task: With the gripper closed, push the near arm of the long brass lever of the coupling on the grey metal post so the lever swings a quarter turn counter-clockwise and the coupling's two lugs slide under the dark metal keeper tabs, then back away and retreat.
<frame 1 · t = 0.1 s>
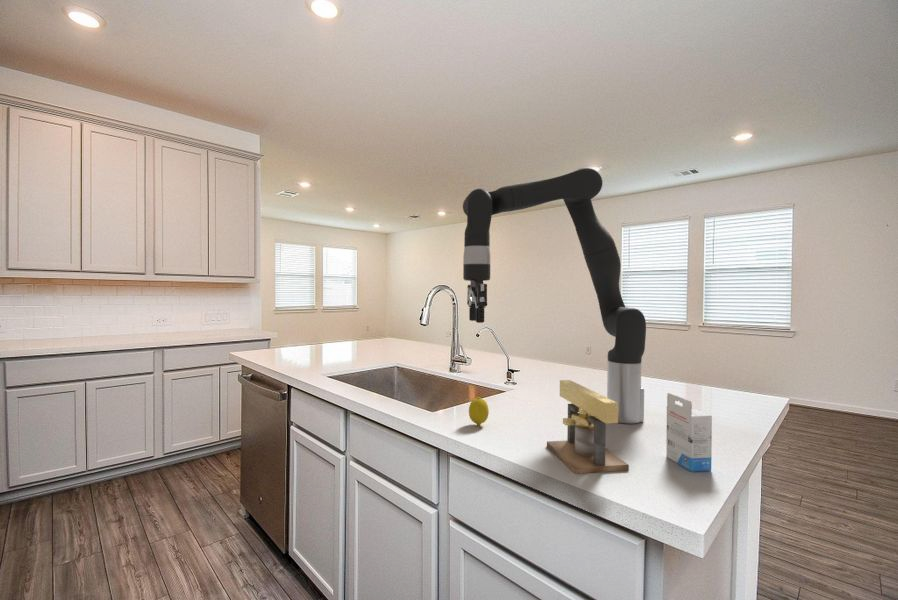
hand: (476, 321, 113), 29 cm above the worktop, fingers open, 8 cm apart
ink box: (687, 464, 89), on the worktop
lemon: (478, 426, 113), on the worktop
base: (584, 457, 91), on the worktop
coupling: (585, 407, 91), point 11 cm above the worktop, hinge at 0.0°
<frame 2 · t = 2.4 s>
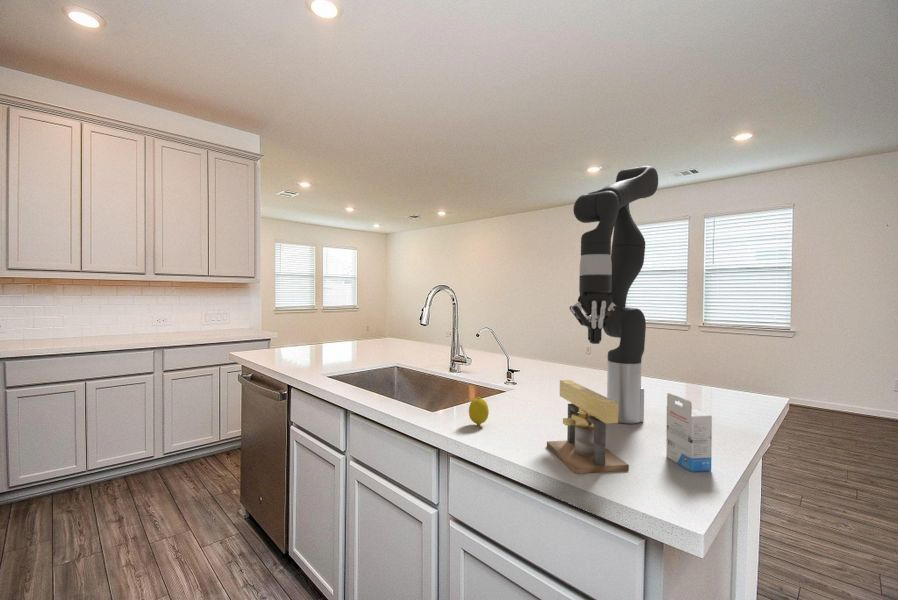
hand: (594, 343, 100), 25 cm above the worktop, fingers closed
nothing on the worktop moved.
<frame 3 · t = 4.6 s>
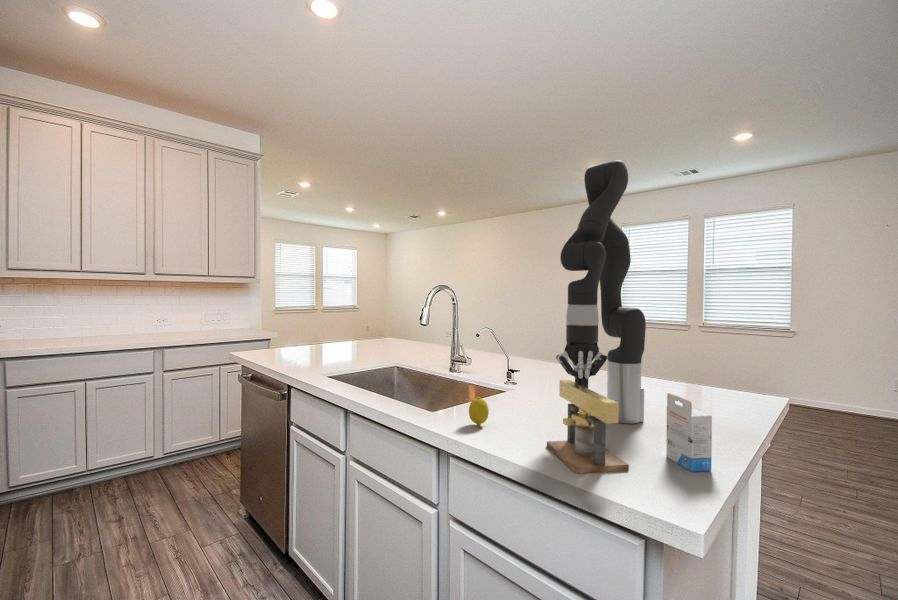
hand: (581, 392, 100), 13 cm above the worktop, fingers closed
coupling: (585, 407, 91), point 11 cm above the worktop, hinge at 0.3°, touching gripper
everything else where it was.
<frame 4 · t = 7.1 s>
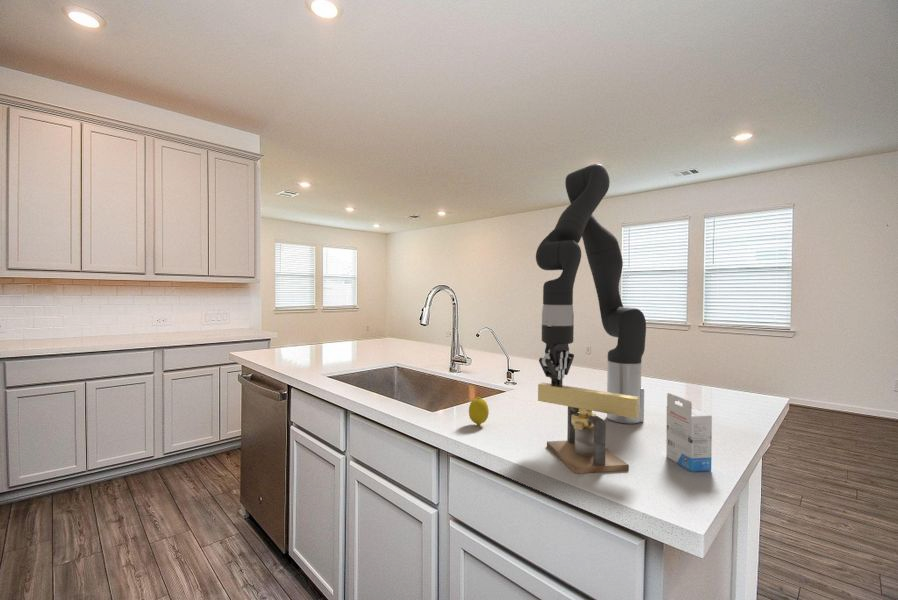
hand: (556, 393, 99), 13 cm above the worktop, fingers closed
coupling: (585, 407, 91), point 11 cm above the worktop, hinge at 43.5°, touching gripper
everything else where it was.
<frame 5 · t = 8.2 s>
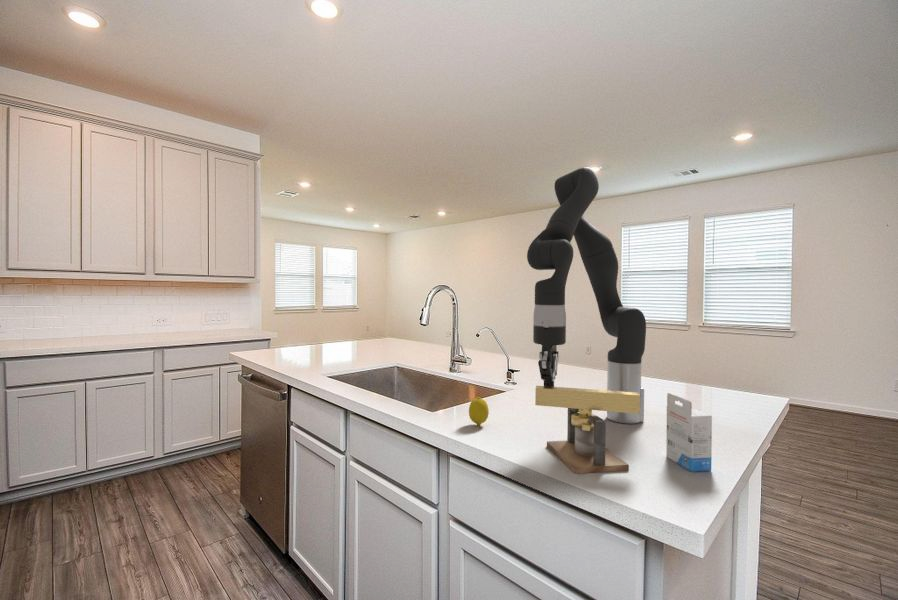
hand: (548, 396, 97), 13 cm above the worktop, fingers closed
coupling: (585, 407, 91), point 11 cm above the worktop, hinge at 65.1°, touching gripper
everything else where it was.
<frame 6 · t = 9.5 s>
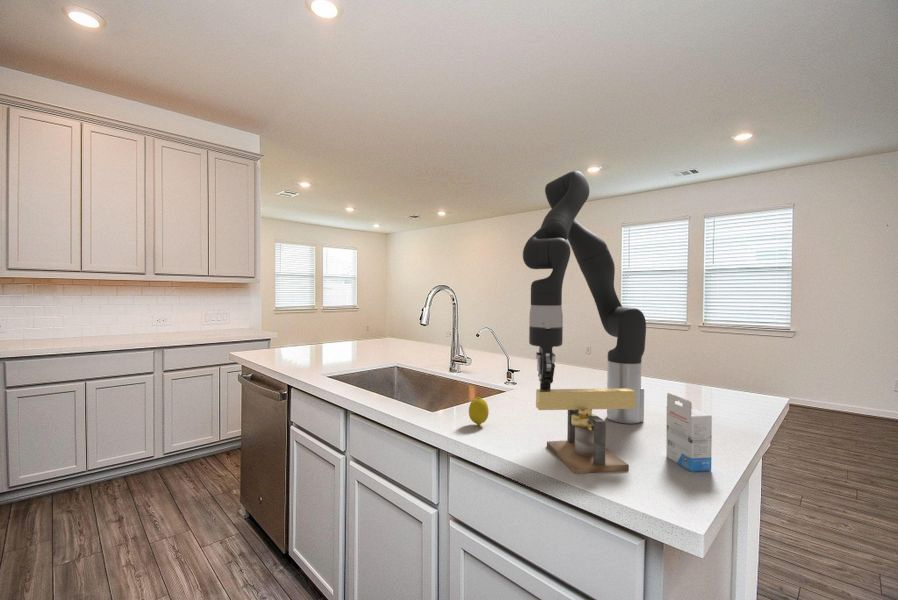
hand: (545, 399, 94), 13 cm above the worktop, fingers closed
coupling: (585, 407, 91), point 11 cm above the worktop, hinge at 85.6°, touching gripper
everything else where it was.
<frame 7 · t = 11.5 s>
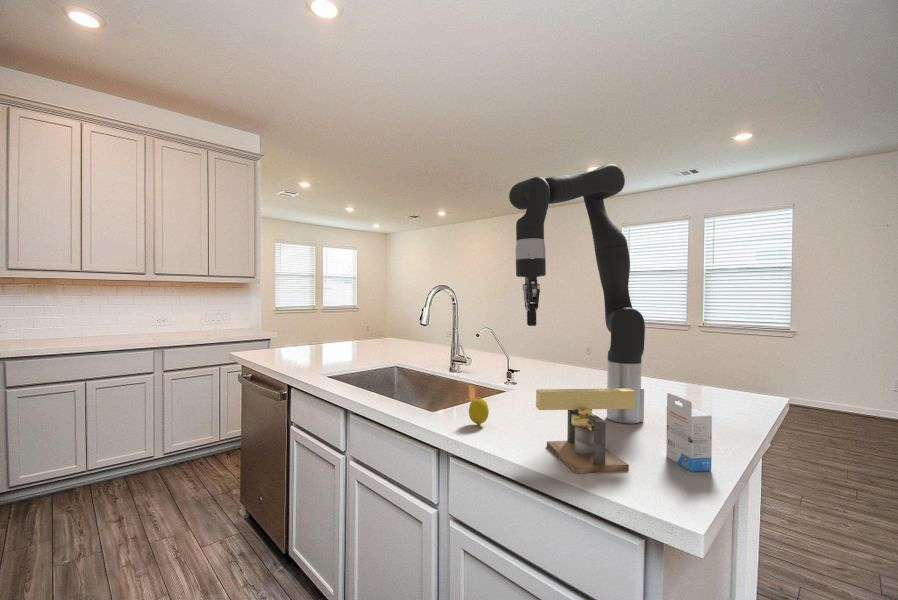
hand: (531, 325, 104), 29 cm above the worktop, fingers closed
coupling: (585, 407, 91), point 11 cm above the worktop, hinge at 85.7°
everything else where it was.
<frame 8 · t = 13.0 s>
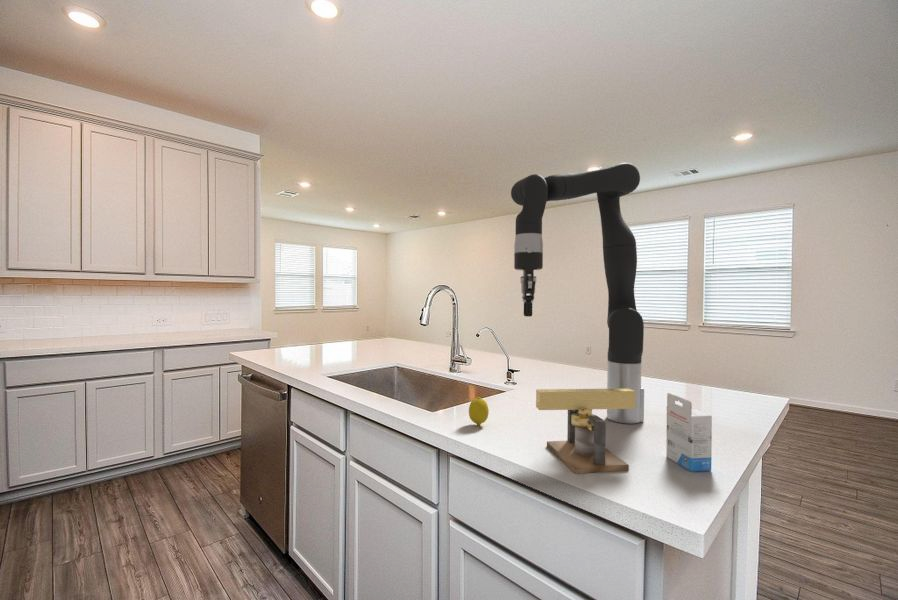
hand: (527, 316, 109), 31 cm above the worktop, fingers closed
nothing on the worktop moved.
at the end: coupling at +86° (first picture: +0°); the gripper is holding nothing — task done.
